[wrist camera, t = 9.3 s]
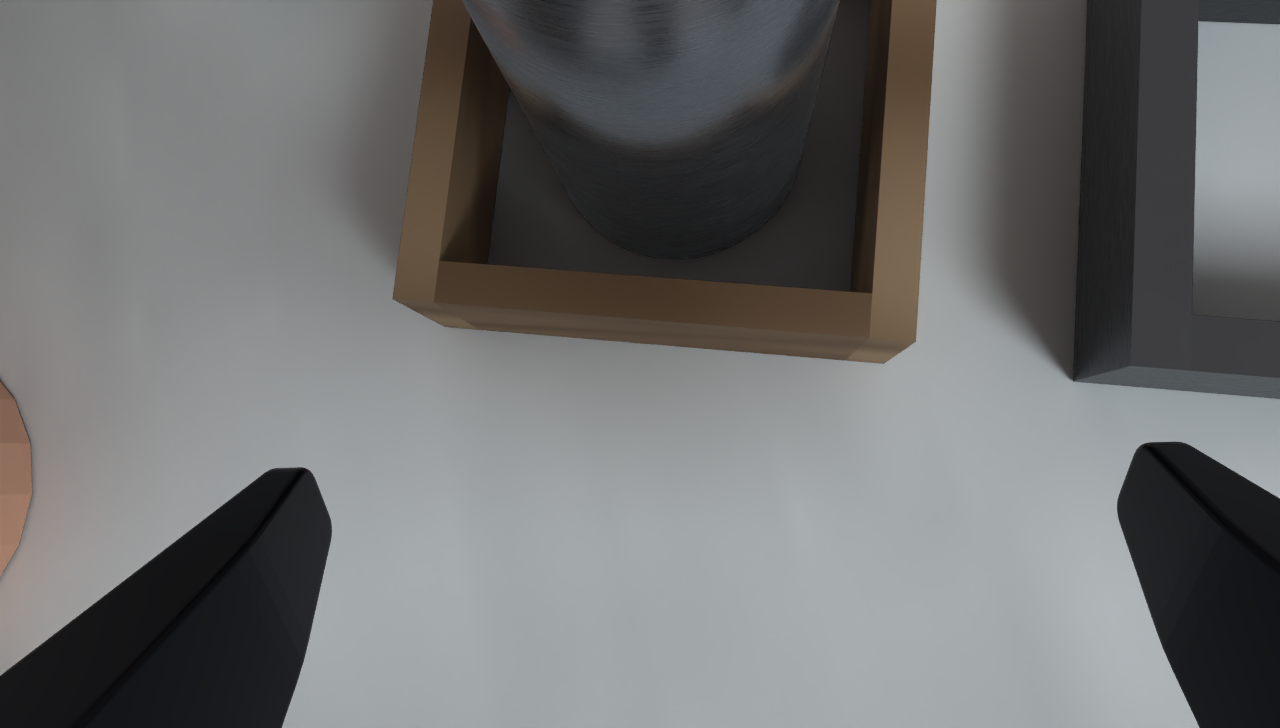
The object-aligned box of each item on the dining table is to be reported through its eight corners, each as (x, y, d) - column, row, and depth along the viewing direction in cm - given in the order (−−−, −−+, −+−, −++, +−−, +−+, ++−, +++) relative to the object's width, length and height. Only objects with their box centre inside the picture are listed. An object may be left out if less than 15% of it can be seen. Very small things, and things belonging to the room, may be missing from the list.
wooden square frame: (884, 363, 18) (915, 341, 15) (444, 326, 19) (392, 298, 16) (911, -59, 19) (946, -158, 16) (495, -73, 20) (456, -167, 17)
